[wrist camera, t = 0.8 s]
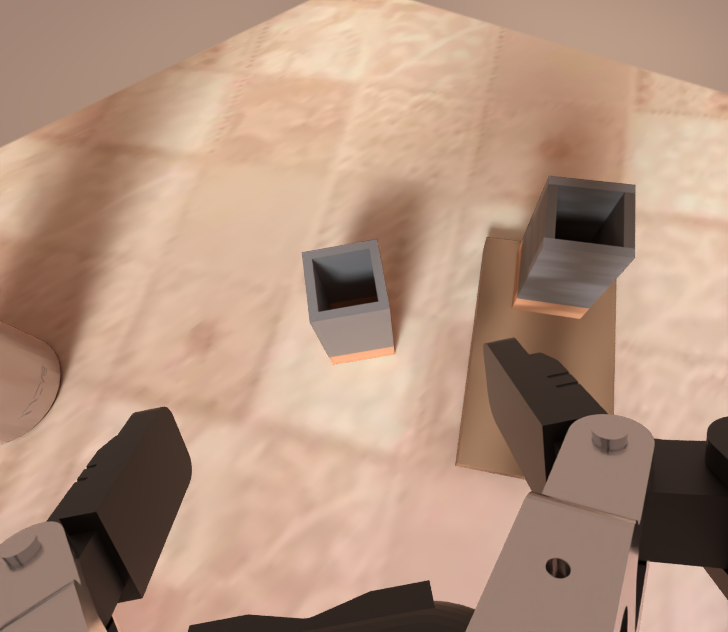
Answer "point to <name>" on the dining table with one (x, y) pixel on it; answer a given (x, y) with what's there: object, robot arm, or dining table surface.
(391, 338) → the sleeve
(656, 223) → the dining table surface
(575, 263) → the pin board
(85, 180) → the dining table surface
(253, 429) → the dining table surface
